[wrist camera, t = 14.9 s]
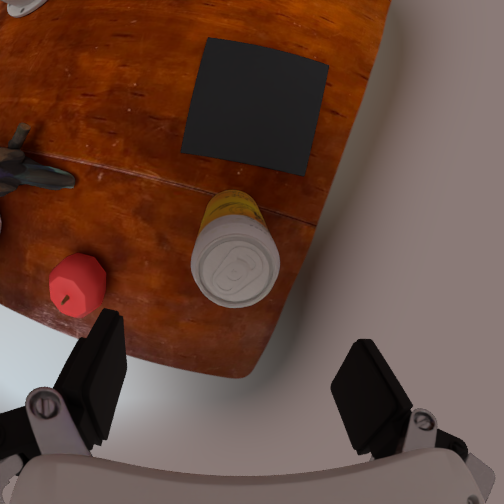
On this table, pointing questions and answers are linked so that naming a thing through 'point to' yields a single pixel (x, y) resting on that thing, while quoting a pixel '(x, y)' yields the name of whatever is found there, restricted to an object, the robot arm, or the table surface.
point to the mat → (255, 106)
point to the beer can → (234, 252)
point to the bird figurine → (28, 168)
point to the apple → (77, 285)
